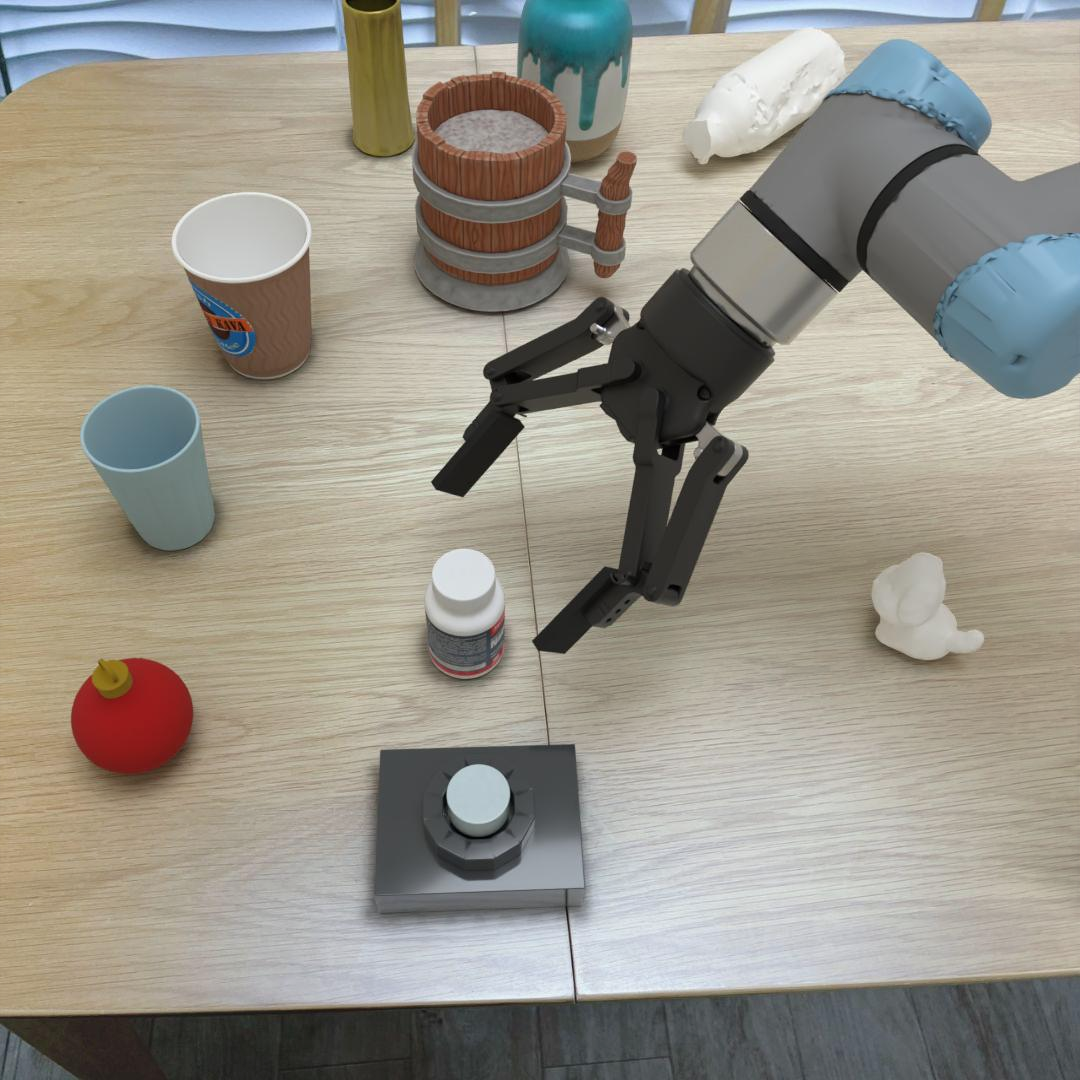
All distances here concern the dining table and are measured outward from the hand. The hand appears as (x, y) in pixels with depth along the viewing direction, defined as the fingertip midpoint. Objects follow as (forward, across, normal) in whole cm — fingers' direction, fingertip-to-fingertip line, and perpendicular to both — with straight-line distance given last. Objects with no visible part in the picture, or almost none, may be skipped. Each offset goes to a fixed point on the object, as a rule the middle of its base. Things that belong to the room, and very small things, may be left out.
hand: (494, 565), depth 68 cm
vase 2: (-17, +47, -30) cm, 58 cm away
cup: (+18, +20, +5) cm, 27 cm away
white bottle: (-30, +40, -42) cm, 65 cm away
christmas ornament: (+23, +4, +10) cm, 25 cm away
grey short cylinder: (+8, -12, +2) cm, 15 cm away
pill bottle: (+8, 0, -5) cm, 9 cm away
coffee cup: (+9, +34, -4) cm, 35 cm away
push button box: (+12, -12, -1) cm, 17 cm away
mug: (-8, +33, -20) cm, 39 cm away
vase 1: (-6, +56, -18) cm, 60 cm away
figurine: (-12, -14, -25) cm, 31 cm away
